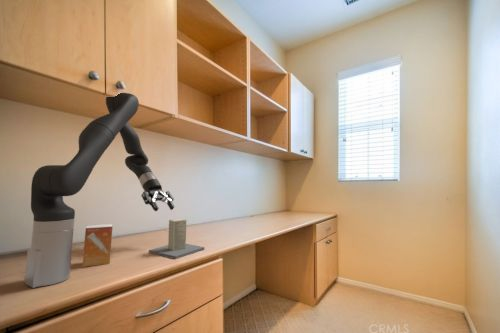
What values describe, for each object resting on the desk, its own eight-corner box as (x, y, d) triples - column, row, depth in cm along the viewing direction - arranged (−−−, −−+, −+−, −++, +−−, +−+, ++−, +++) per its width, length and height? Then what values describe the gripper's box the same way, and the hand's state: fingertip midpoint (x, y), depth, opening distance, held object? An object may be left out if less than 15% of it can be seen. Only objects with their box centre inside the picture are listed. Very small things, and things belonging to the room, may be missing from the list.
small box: (82, 267, 77) (85, 227, 78) (83, 262, 82) (85, 225, 83) (110, 263, 81) (112, 226, 82) (109, 258, 86) (112, 223, 87)
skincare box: (181, 246, 102) (182, 218, 103) (186, 248, 98) (187, 219, 100) (167, 248, 97) (168, 219, 98) (172, 250, 94) (173, 220, 95)
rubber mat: (175, 259, 87) (175, 256, 87) (148, 252, 95) (148, 250, 95) (204, 249, 100) (204, 247, 101) (178, 244, 109) (178, 242, 109)
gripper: (140, 177, 103) (155, 204, 96) (166, 178, 115) (181, 202, 109) (132, 189, 105) (147, 216, 98) (158, 189, 118) (173, 213, 111)
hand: (165, 209), depth 104 cm, fingers open, 8 cm apart
